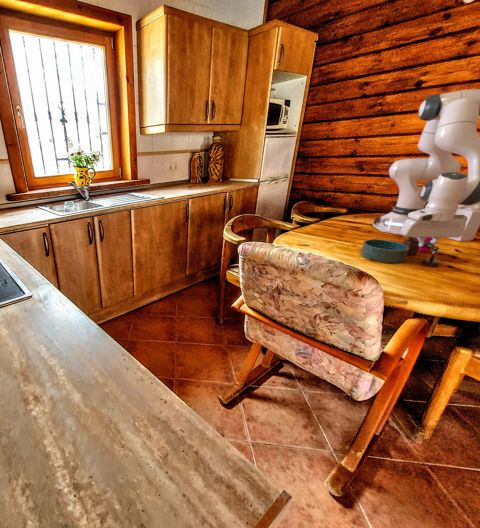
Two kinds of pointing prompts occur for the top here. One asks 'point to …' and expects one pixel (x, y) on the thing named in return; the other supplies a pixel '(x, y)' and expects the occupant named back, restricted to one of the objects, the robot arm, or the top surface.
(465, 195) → the robot arm
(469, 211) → the milk carton
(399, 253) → the bowl
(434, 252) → the dark grey angled piece
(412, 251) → the dark brown block
